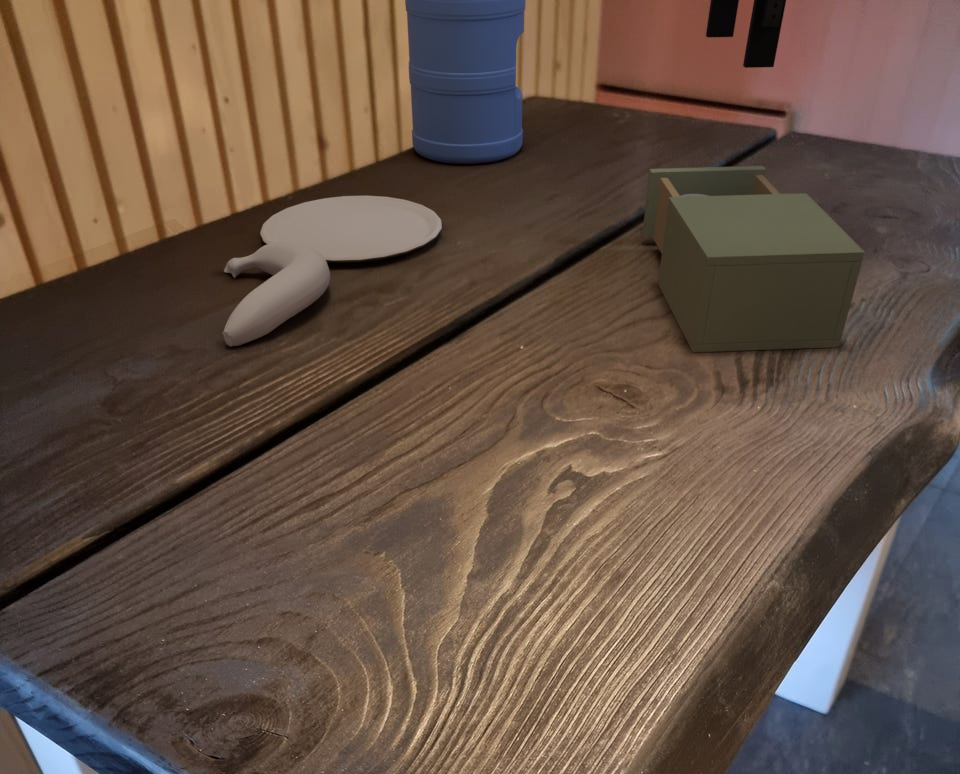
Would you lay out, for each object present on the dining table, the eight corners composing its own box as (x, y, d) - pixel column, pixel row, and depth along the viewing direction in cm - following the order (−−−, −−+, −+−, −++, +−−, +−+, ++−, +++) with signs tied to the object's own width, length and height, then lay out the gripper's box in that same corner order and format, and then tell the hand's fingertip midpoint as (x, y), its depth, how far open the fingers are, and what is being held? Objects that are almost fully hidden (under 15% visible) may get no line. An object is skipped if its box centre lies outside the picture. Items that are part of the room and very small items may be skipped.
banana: (274, 355, 84) (137, 335, 88) (360, 286, 98) (239, 271, 101) (266, 302, 81) (124, 283, 84) (357, 238, 95) (231, 224, 98)
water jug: (463, 173, 123) (458, -93, 104) (390, 149, 132) (373, -101, 113) (545, 150, 131) (554, -102, 112) (471, 128, 140) (468, -109, 121)
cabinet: (657, 285, 95) (668, 197, 90) (787, 280, 96) (806, 193, 90) (692, 352, 84) (707, 256, 78) (839, 347, 84) (865, 251, 79)
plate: (313, 198, 117) (311, 187, 116) (467, 215, 111) (467, 204, 110) (227, 256, 102) (224, 245, 101) (400, 279, 97) (399, 267, 96)
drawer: (635, 220, 107) (641, 157, 102) (740, 217, 107) (752, 154, 103) (669, 284, 93) (678, 214, 89) (790, 281, 94) (805, 210, 89)
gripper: (704, -244, 86) (671, 26, 100) (791, -249, 68) (735, 81, 82) (783, -244, 86) (739, 25, 101) (890, -249, 68) (818, 80, 83)
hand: (737, 51), depth 92 cm, fingers open, 13 cm apart
